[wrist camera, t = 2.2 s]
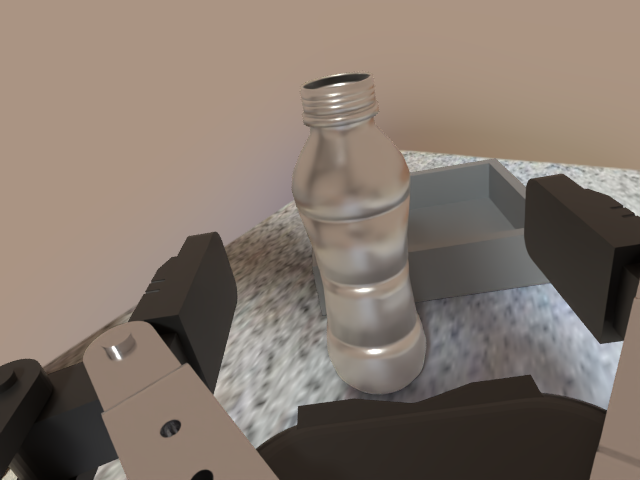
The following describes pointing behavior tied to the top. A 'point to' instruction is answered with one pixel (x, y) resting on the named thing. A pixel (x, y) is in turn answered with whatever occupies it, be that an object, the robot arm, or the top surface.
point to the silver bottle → (359, 234)
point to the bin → (464, 233)
